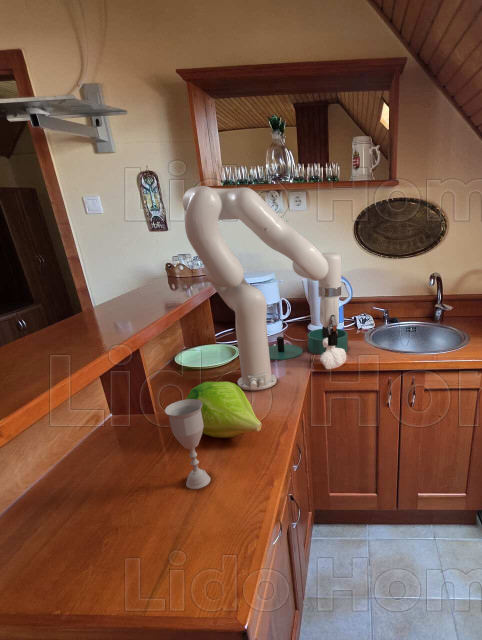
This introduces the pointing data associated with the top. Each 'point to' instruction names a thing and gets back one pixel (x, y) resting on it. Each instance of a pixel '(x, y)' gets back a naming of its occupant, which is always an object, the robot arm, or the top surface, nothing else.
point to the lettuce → (224, 409)
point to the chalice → (189, 435)
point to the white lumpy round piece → (332, 356)
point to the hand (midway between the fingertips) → (329, 341)
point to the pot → (317, 340)
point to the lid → (284, 350)
